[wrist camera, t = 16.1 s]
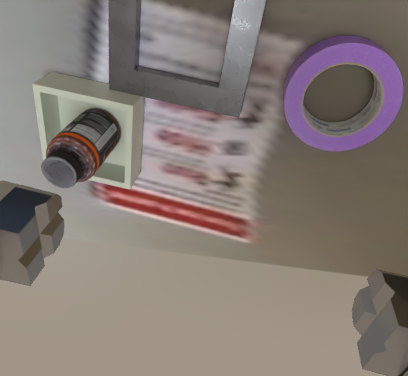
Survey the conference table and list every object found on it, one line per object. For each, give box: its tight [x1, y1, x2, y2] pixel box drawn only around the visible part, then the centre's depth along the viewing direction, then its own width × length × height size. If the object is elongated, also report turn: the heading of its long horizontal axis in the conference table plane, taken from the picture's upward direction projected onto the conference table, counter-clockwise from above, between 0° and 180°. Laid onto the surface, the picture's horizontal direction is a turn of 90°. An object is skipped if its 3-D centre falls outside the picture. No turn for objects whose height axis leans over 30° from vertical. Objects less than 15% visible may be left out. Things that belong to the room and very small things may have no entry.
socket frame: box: [109, 0, 266, 117], centre depth 38 cm, size 16×16×2 cm
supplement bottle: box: [41, 109, 121, 188], centre depth 42 cm, size 6×6×11 cm
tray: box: [33, 72, 145, 189], centre depth 46 cm, size 12×12×4 cm
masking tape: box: [284, 36, 403, 151], centre depth 38 cm, size 12×12×4 cm
